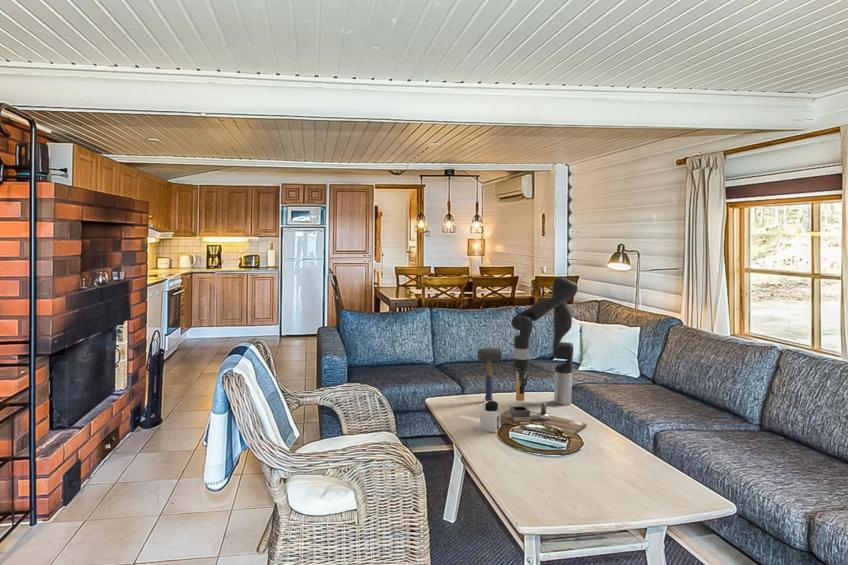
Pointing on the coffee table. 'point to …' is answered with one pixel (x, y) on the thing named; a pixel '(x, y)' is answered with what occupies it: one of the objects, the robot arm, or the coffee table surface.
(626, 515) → the coffee table surface
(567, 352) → the robot arm
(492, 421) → the container
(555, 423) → the base
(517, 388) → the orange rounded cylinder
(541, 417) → the lever
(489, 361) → the rubber mallet
